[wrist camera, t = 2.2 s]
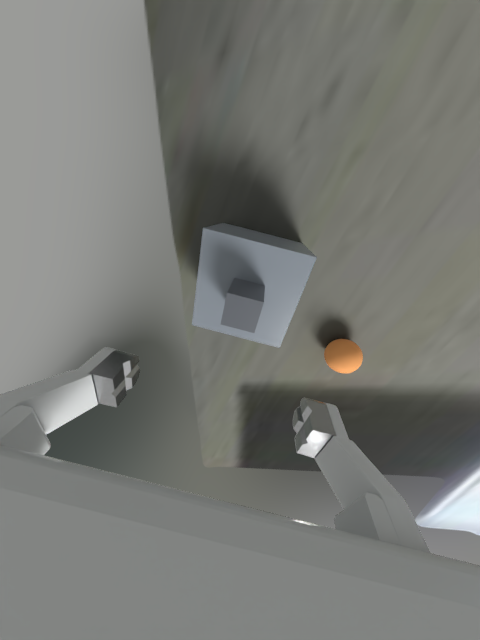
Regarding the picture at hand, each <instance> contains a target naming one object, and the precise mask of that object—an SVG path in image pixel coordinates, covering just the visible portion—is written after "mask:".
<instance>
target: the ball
mask: <svg viewBox="0 0 480 640" xmlns="http://www.w3.org/2000/svg"><path fill="white" fill-rule="evenodd" d="M324 356H325V360H326V363H327V364H328V366H329V367H330V368H332V369H333V370H335V371H337V372H339V373H351V372H353V371H355V370H357V369H358V368H359V367H360V365H361V363H362V360H363V355H362V351H361V349H360V348H359V346H358V345H357V344H356V343H354V342H352V341H350V340H347V339H336V340H334V341H332V342H330V343H329V344H328V345H327V347H326V349H325V353H324Z"/></svg>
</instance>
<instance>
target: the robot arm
mask: <svg viewBox="0 0 480 640" xmlns="http://www.w3.org/2000/svg"><path fill="white" fill-rule="evenodd" d="M138 362H139V357H138V356H137V355H134V354H130V353H126V352H123V351H119V350H115V349H112V348H107V347H106V348H103V349H101V350H100V351H99V352H98V353H97V354H95V355H94V356H93V357H92V358H91V359H89V360H88V361H87V362H86V363H84V364H83V365H82V366H81V367H80V368H78V369H77V370H70V371H68V372H65V373H62V374H59V375H56V376H53V377H50V378H47V379H44V380H41V381H38V382H35V383H33V384H30V385H27V386H24V387H21V388H18V389H15V390H12V391H9V392H6V393H4V394H0V640H480V566H479V565H475V564H471V563H467V562H463V561H460V560H456V559H451V558H448V557H444V556H440V555H435V554H432V553H430V551H429V549H428V547H427V545H426V542H425V540H424V538H423V536H422V534H421V532H420V530H419V528H418V526H417V524H416V522H415V520H414V518H413V515H412V513H411V511H410V509H409V507H408V505H407V503H406V501H405V500H404V499H403V498H402V497H401V495H400V494H399V493H398V492H397V491H396V490H395V489H394V487H393V486H392V485H391V484H390V483H389V482H388V481H387V480H386V479H385V477H384V476H383V475H382V474H381V473H380V472H379V471H378V469H377V468H376V467H375V466H374V465H373V464H372V463H371V461H370V460H369V459H368V458H367V457H366V456H365V455H364V454H363V452H362V451H361V450H360V449H359V448H358V447H357V446H356V444H355V443H354V442H353V441H351V440H349V439H348V436H347V433H346V430H345V428H344V425H343V422H342V419H341V417H340V414H339V411H338V409H337V407H336V406H335V405H332V404H328V403H323V402H320V401H316V400H312V399H307V398H303V399H302V400H301V402H300V407H298V408H296V410H295V412H294V416H293V428H294V430H295V431H296V433H297V435H296V437H295V444H296V452H297V453H299V454H302V455H306V456H309V457H313V458H315V461H316V462H317V464H318V466H319V468H320V469H321V471H322V473H323V474H324V476H325V478H326V480H327V481H328V483H329V485H330V487H331V488H332V490H333V492H334V494H335V495H336V497H337V499H338V501H339V502H340V504H341V506H342V507H343V509H344V510H343V511H341V512H340V513H339V514H337V515H336V516H335V518H334V524H335V529H333V528H328V527H325V526H321V525H317V524H313V523H309V522H305V521H301V520H297V519H293V518H289V517H285V516H281V515H277V514H274V513H270V512H265V511H262V510H258V509H254V508H249V507H246V506H242V505H238V504H234V503H230V502H226V501H221V500H218V499H214V498H210V497H206V496H202V495H198V494H194V493H190V492H186V491H182V490H179V489H174V488H170V487H167V486H163V485H159V484H155V483H151V482H147V481H143V480H139V479H135V478H131V477H127V476H123V475H119V474H115V473H111V472H107V471H103V470H99V469H95V468H91V467H87V466H83V465H79V464H75V463H71V462H67V461H64V460H60V459H56V458H52V457H47V456H44V454H45V453H46V452H47V451H48V450H49V449H50V445H51V444H50V442H49V440H48V438H47V436H46V434H48V433H50V432H52V431H53V430H55V429H57V428H58V427H60V426H61V425H64V424H65V423H67V422H68V421H70V420H72V419H74V418H75V417H77V416H79V415H81V414H82V413H84V412H86V411H87V410H89V409H91V408H93V407H94V406H96V405H98V403H100V404H104V405H109V406H113V407H118V405H119V404H120V403H121V401H122V400H123V399H124V398H125V396H126V390H128V389H130V388H132V387H133V386H134V384H135V383H136V381H137V379H138V377H139V373H140V369H139V367H138V366H137V363H138Z"/></svg>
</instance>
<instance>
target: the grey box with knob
mask: <svg viewBox="0 0 480 640" xmlns="http://www.w3.org/2000/svg"><path fill="white" fill-rule="evenodd" d="M316 258H317V257H316V256H315V255H314V254H313V253H312V252H311V251H310V250H309V249H308V248H307V247H306V246H305V245H304V244H303V243H300V242H296V241H292V240H288V239H284V238H281V237H277V236H273V235H269V234H265V233H261V232H257V231H253V230H250V229H246V228H242V227H238V226H234V225H230V224H226V223H221V224H217V225H213V226H209V227H205V228H203V233H202V241H201V250H200V259H199V268H198V277H197V285H196V294H195V303H194V312H193V321H192V325H194V326H198V327H202V328H205V329H209V330H213V331H217V332H221V333H225V334H228V335H232V336H236V337H240V338H244V339H248V340H251V341H255V342H259V343H263V344H267V345H271V346H274V347H278V348H280V345H281V343H282V341H283V338H284V336H285V333H286V331H287V328H288V326H289V324H290V321H291V319H292V316H293V314H294V312H295V309H296V307H297V304H298V302H299V299H300V297H301V295H302V292H303V290H304V287H305V285H306V283H307V280H308V278H309V275H310V273H311V270H312V268H313V266H314V263H315V261H316Z"/></svg>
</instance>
